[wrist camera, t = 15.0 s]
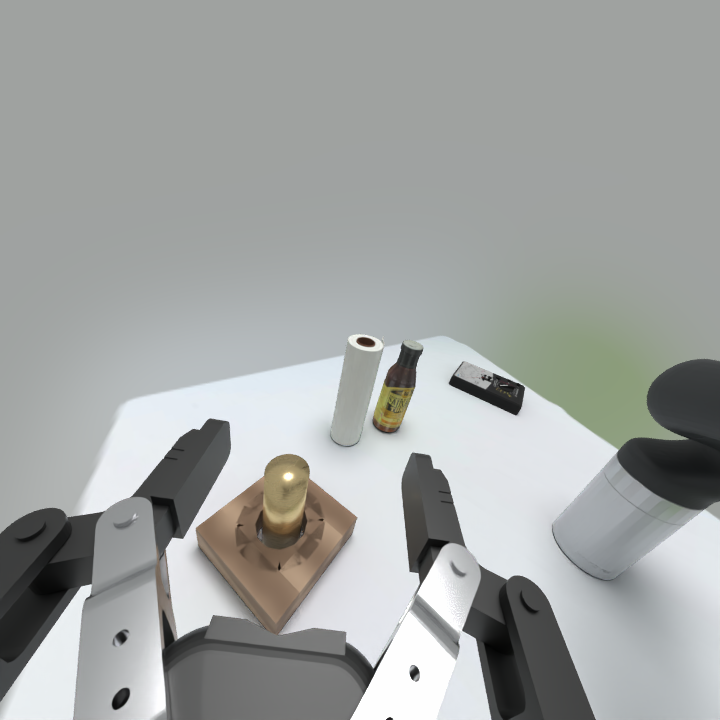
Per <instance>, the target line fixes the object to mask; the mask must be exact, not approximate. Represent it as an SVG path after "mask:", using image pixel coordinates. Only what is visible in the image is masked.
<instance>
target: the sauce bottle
mask: <svg viewBox="0 0 720 720" xmlns="http://www.w3.org/2000/svg"><path fill="white" fill-rule="evenodd" d="M422 351H423V346H422V345H421V344H420V343H417V342H415V341H411V340H405V341H403V343H402V345H401V352H400V355H399V358H398V360H397V362H396V363H395V364H394V365H393V366H392V367H391V368H390V369H389V370H388V373H387V376H386V379H385V381H384V384H383V387H382V390H381V393H380V396H379V399H378V402H377V406H376V409H375V412H374V416H373V423H374V425H375V426H376V427H377V428H378V429H380V430H382V431H385V432H394V431H396V430H397V429H398V428H399V426H400V425H401V423H402V420H403V417H404V415H405V412H406V410H407V407H408V404H409V402H410V399H411V396H412V394H413V391H414V389H415V383H416V366H417V362H418V359H419V357H420V355H421V354H422Z"/></svg>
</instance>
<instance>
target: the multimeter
mask: <svg viewBox="0 0 720 720" xmlns="http://www.w3.org/2000/svg"><path fill="white" fill-rule="evenodd" d="M449 385H451V386H453V387H455V388H458V389H460V390H462V391H464V392H466V393H469V394H471V395H473V396H475V397H477V398H479V399H482V400H484V401H486V402H488V403H490V404H492V405H495V406H497V407H499V408H501V409H503V410H505V411H508V412H510V413H512V414H514V415H517V414H518V412H519V411H520V409H521V407H522V402H523V396H524V390H525V387H524V386H523V385H520V384H519V383H515V382H513V381H511V380H509V379H506V378H503V377H501V376H499V375H496V374H494V373H492V372H489V371H487V370H484V369H482V368H480V367H477V366H475V365H472V364H470V363H468V362H465V361H464V362H462V364H461V365H460V366H459V368H458V369H457V370H456V372H455V373H454V374H453V376H452V377H451V379H450V382H449Z"/></svg>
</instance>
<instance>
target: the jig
mask: <svg viewBox="0 0 720 720" xmlns="http://www.w3.org/2000/svg"><path fill="white" fill-rule="evenodd" d="M263 501H264V476H263V477H262V478H261V479H259V480H258V481H257V482H256V483H254V484H253V485H252V486H250V487H249V488H248V489H246V490H245V491H244V492H242V493H241V494H240V495H239V496H237V497H236V498H235V499H233V500H232V501H231V502H229V503H228V504H227V505H225V506H224V507H223V508H222V509H220V510H219V511H218V512H216V513H215V514H214V515H212V516H211V517H210V518H208V519H207V520H206V521H205V522H203V523H202V524H201V525H199V526H198V527H197V528H196V534H197V540H198V546H199V547H200V549H201V550H202V551H203V552H204V554H205V555H206V556H207V557H208V558H209V560H210V561H211V562H212V563H213V565H214V566H215V567H216V568H217V570H218V571H219V572H220V573H221V574H222V576H223V577H224V578H225V579H226V581H227V582H228V583H229V584H230V585H231V587H232V588H233V589H234V590H235V592H236V593H237V594H238V595H239V597H240V598H241V599H242V600H243V601H244V603H245V604H246V605H247V606H248V608H249V609H250V610H251V611H252V612H253V614H254V615H255V616H256V617H257V619H258V620H259V621H260V622H261V623H262V625H263V626H264V627H265V628H266V630H267V631H269V632H271V633H273V634H275V635H278V634H279V632H280V631H281V629H282V628H283V627H284V625H285V624H286V623H287V621H288V620H289V619H290V617H291V616H292V615H293V613H294V612H295V611H296V609H297V608H298V606H299V605H300V604H301V602H302V601H303V600H304V598H305V597H306V596H307V594H308V593H309V592H310V590H311V589H312V587H313V586H314V585H315V583H316V582H317V581H318V579H319V578H320V577H321V575H322V574H323V573H324V571H325V570H326V568H327V567H328V566H329V564H330V563H331V562H332V560H333V559H334V558H335V556H336V555H337V554H338V552H339V551H340V550H341V548H342V547H343V545H344V544H345V543H346V541H347V540H348V539H349V537H350V536H351V535H352V533H353V529H354V526H355V523H356V520H357V517H356V516H355V515H354V514H352V513H351V512H350V511H349V510H347V509H346V508H345V507H344V506H342V505H341V504H340V503H339V502H338V501H336V500H335V499H334V498H333V497H331V496H330V495H329V494H328V493H326V492H325V491H324V490H323V489H321V488H320V487H319V486H318V485H317V484H315V483H314V482H313V481H312V480H310V479H309V480H308V487H307V493H306V500H305V506H304V513H303V519H302V530H303V534H304V535H303V536H302V537H301V538H300V539H299V540H298V541H297V542H296V543H295V544H294V545H292V546H289V547H287V548H284V549H281V550H279V549H274V548H269V547H266V546H265V545H264V544H263V543H262V542H261V541H260V540H259V539H258V538H257V535H258V533H259V530H260V529H261V528H262V527H263Z"/></svg>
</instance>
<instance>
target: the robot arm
mask: <svg viewBox="0 0 720 720" xmlns="http://www.w3.org/2000/svg"><path fill="white" fill-rule="evenodd" d="M647 406H648V410H649V412H650V414H651V416H652V417H653V418H654V420H655V421H656V422H658V423H659V424H660V425H661V426H662V427H664V428H666V429H668V430H670V431H672V432H674V433H676V434H678V435H681V436H684V437H686V438H688V440H661V439H652V438H633V439H631V440H629V441H627V442H626V443H625V444H624V445H623V446H622V447H621V449H620V450H619V451H618V452H617V453H616V454H615V455H614V456H613V457H612V459H611V460H610V461H609V462H608V463H607V464H606V465H605V467H604V468H603V469H602V470H601V471H600V472H599V473H598V474H597V475H596V476H595V478H594V479H593V480H592V481H591V482H590V483H589V484H588V485H587V486H586V488H585V489H584V490H583V491H582V492H581V493H580V494H579V495H578V496H577V497H576V499H575V500H574V501H573V502H572V503H571V504H570V505H569V506H568V507H567V508H566V509H565V510H564V512H563V513H562V514H561V515H560V516H559V517H558V518H557V519H556V520H555V522H554V524H553V533H554V536H555V539H556V541H557V543H558V544H559V546H560V548H561V549H562V550H563V552H564V553H565V554H566V555H567V556H568V557H569V558H570V560H571V561H573V562H574V563H575V564H576V565H577V566H578V567H580V568H581V569H582V570H584V571H585V572H587V573H589V574H590V575H592V576H594V577H597V578H599V579H604V580H612V579H614V578H616V577H617V576H618V575H620V574H621V573H622V572H624V571H625V570H626V569H627V568H629V567H630V566H632V565H633V564H634V563H636V562H637V561H638V560H640V559H641V558H642V557H643V556H645V555H646V554H647V553H649V552H650V551H651V550H653V549H654V548H655V547H656V546H658V545H659V544H660V543H662V542H663V541H664V540H666V539H667V538H668V537H669V536H671V535H672V534H673V533H675V532H676V531H677V530H679V529H680V528H681V527H682V526H684V525H685V524H686V523H687V522H689V521H690V520H691V519H693V518H694V517H695V516H696V515H698V514H699V513H700V512H702V511H703V510H704V509H706V508H707V507H708V506H710V505H711V504H713V503H715V502H719V501H720V361H715V360H710V359H697V360H691V361H687V362H683V363H680V364H677V365H675V366H673V367H672V368H670V369H668V370H666V371H665V372H663V373H662V374H661V375H659V376H658V377H657V378H656V379H655V380H654V382H653V383H652V385H651V386H650V388H649V391H648V395H647ZM230 449H231V441H230V425H229V422H228V421H222V420H216V419H208V420H207V421H206V423H205V424H204V425H203V426H202V428H201V429H200V430H196V429H192V430H191V431H189V432H188V433H186V434H185V435H183V436H182V437H180V438H179V440H178V441H177V442H176V443H175V444H174V446H173V447H172V449H171V450H170V451H169V452H168V453H167V454H166V455H165V457H164V459H162V460H161V462H160V463H159V464H158V465H157V467H156V468H155V469H154V470H153V471H152V473H151V474H150V475H149V476H148V478H147V479H146V480H145V481H144V482H143V484H142V485H141V486H140V487H139V489H138V490H137V491H136V492H135V493H134V494H133V496H131V497H130V498H127V499H124V500H122V501H119V502H117V503H116V504H114V505H112V506H111V507H110V508H108V509H107V510H106V511H104V512H99V513H93V514H87V515H80V516H74V517H67V516H66V514H65V513H64V512H63V511H62V510H60V509H57V508H47V509H42V510H38V511H34V512H32V513H29V514H27V515H25V516H23V517H22V518H20V519H18V520H16V521H15V522H14V523H12V524H11V525H10V526H8V527H7V528H6V529H5V530H4V531H3V532H2V533H1V534H0V701H1V700H2V699H3V697H4V696H5V694H6V693H7V691H8V690H9V689H10V687H11V686H12V684H13V683H14V681H15V680H16V679H17V677H18V676H19V674H20V673H21V671H22V670H23V669H24V667H25V666H26V664H27V663H28V661H29V660H30V659H31V657H32V656H33V654H34V653H35V651H36V650H37V649H38V647H39V646H40V644H41V643H42V641H43V640H44V639H45V637H46V636H47V634H48V633H49V631H50V630H51V629H52V627H53V626H54V624H55V623H56V621H57V620H58V619H59V617H60V616H61V614H62V613H63V611H64V610H65V609H66V607H67V606H68V604H69V603H70V601H71V600H72V599H73V597H74V596H75V594H76V593H77V591H78V590H79V589H80V587H81V586H85V585H89V584H92V589H91V594H90V597H88V598H86V600H85V602H84V605H83V610H82V619H81V632H80V644H79V656H78V668H77V680H76V692H75V704H74V716H73V720H435V719H436V716H437V713H438V710H439V707H440V705H441V702H442V699H443V696H444V693H445V690H446V688H447V685H448V682H449V679H450V676H451V674H452V671H453V668H454V665H455V662H456V659H457V656H458V653H459V644H458V641H459V638H460V635H461V632H462V631H464V632H466V633H467V634H469V635H471V636H473V637H474V638H476V641H477V646H478V652H479V657H480V662H481V667H482V672H483V678H484V683H485V688H486V693H487V698H488V703H489V709H490V714H491V719H492V720H596V719H595V717H594V714H593V712H592V709H591V707H590V704H589V702H588V699H587V697H586V694H585V692H584V689H583V686H582V684H581V681H580V679H579V676H578V674H577V671H576V669H575V666H574V664H573V661H572V659H571V656H570V654H569V651H568V648H567V646H566V643H565V641H564V638H563V636H562V633H561V631H560V628H559V626H558V623H557V621H556V618H555V616H554V613H553V611H552V608H551V605H550V603H549V601H548V599H547V598H546V596H545V595H544V593H543V592H542V591H541V589H540V588H539V587H538V586H537V585H536V584H535V583H533V582H532V581H531V580H529V579H527V578H525V577H523V576H513V577H511V578H510V579H509V580H506V579H504V578H502V577H500V576H498V575H496V574H494V573H492V572H490V571H488V570H487V569H485V568H483V567H482V566H481V565H479V564H478V562H477V561H476V559H475V557H474V556H473V555H472V554H471V552H470V551H468V550H467V548H466V546H465V543H464V540H463V536H462V532H461V529H460V525H459V521H458V517H457V514H456V510H455V506H454V505H453V503H454V502H453V499H452V495H451V491H450V487H449V484H448V480H447V479H446V477H445V476H444V474H443V473H442V471H441V470H439V469H433V465H432V460H431V457H430V456H429V455H425V454H419V453H412V454H411V456H410V458H409V461H408V463H407V466H406V468H405V471H404V473H403V477H402V499H403V509H404V519H405V529H406V539H407V549H408V559H409V569H410V572H415V573H419V580H420V584H419V586H418V588H417V590H416V591H415V593H414V595H413V597H412V599H411V601H410V602H409V604H408V606H407V608H406V610H405V612H404V613H403V615H402V617H401V619H400V621H399V623H398V624H397V626H396V628H395V630H394V632H393V633H392V635H391V637H390V639H389V640H388V642H387V644H386V646H385V647H384V649H383V651H382V653H381V654H380V656H379V658H378V660H377V662H376V664H375V665H374V667H372V666H371V664H370V663H369V662H368V660H367V659H366V658H365V657H364V656H363V655H362V654H361V653H360V652H359V651H358V650H357V649H356V648H355V647H353V646H352V645H350V644H349V643H347V642H346V632H342V631H334V630H326V629H318V628H312V629H307V630H303V631H298V632H294V633H289V634H285V635H275V634H273V633H271V632H269V631H267V630H266V629H264V628H262V627H260V626H258V625H256V624H254V623H252V622H250V621H249V620H247V619H239V618H231V617H223V616H215V615H213V617H212V619H211V622H210V625H209V626H205V627H202V628H199V629H196V630H194V631H192V632H190V633H188V634H186V635H184V636H182V637H181V638H179V639H178V640H177V632H176V625H175V619H174V614H173V609H172V602H171V594H170V585H169V576H168V567H167V558H166V550H165V549H166V547H167V546H168V544H169V542H170V541H171V539H172V537H173V538H181V539H183V538H184V536H185V534H186V533H187V531H188V529H189V527H190V525H191V524H192V522H193V520H194V518H195V517H196V515H197V513H198V511H199V509H200V508H201V506H202V504H203V502H204V501H205V499H206V497H207V495H208V493H209V492H210V490H211V488H212V486H213V485H214V483H215V481H216V479H217V477H218V476H219V474H220V472H221V470H222V469H223V467H224V465H225V463H226V461H227V459H228V457H229V454H230Z"/></svg>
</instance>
